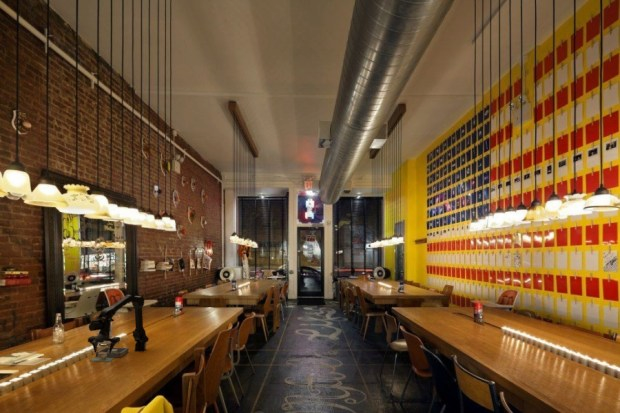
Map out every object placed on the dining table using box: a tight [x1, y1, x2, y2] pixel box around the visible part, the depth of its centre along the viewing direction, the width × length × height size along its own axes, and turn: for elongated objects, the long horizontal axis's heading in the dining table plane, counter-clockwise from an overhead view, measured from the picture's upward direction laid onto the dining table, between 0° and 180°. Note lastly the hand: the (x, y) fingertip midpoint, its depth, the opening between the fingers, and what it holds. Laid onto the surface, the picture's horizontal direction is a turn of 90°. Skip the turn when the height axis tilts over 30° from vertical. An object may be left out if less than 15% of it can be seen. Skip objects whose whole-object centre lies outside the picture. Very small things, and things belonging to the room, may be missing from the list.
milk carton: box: [96, 321, 114, 345], centre depth 293 cm, size 7×7×19 cm
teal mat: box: [89, 356, 114, 363], centre depth 255 cm, size 12×7×1 cm, turn 93°
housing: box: [95, 346, 130, 359], centre depth 268 cm, size 16×14×3 cm
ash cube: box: [97, 352, 108, 360], centre depth 255 cm, size 4×4×4 cm
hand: (102, 352), depth 255 cm, fingers open, 9 cm apart
